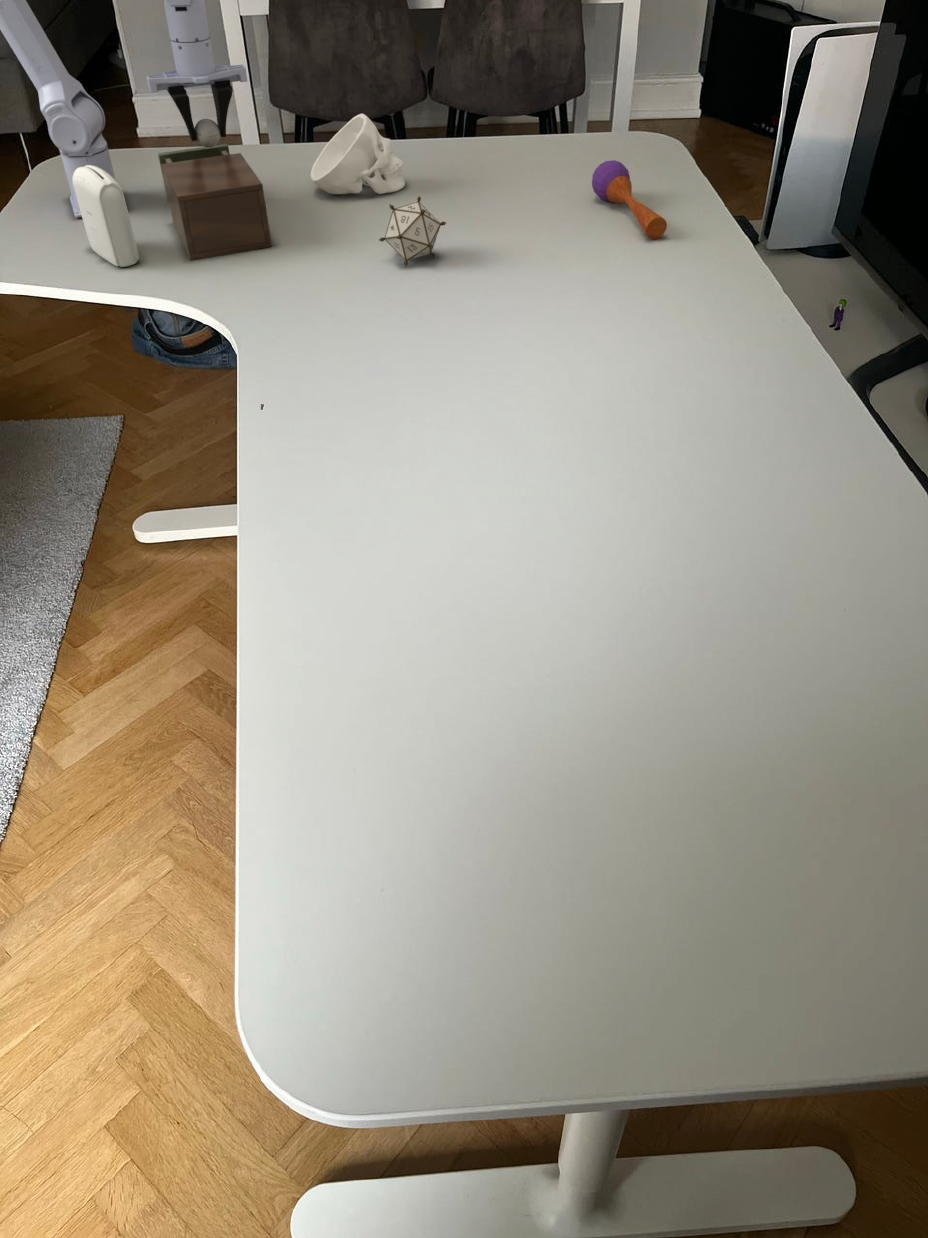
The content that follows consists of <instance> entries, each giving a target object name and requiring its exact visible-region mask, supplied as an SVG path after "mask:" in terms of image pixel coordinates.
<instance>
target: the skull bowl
mask: <svg viewBox="0 0 928 1238" xmlns="http://www.w3.org/2000/svg"><path fill="white" fill-rule="evenodd" d="M391 143H392V139H390V138H387V137H384V136H382V135H381V134H380V132H379V131H378V128H377V127H376V125H375V123H373V121H372V120H371V119H370V118H369V117H368V116H367V115H366V114H364V113H359V114H357V115H355V116H353V117H352V118H351V119H350V120H349V121H347V123H346V124H345V125H344V126H342V127H341V128H340V129H339V130H338V132H336V133H335V134H334V136H332V137H331V139H330V140H329V141H328V142H327V143H326V145H325V146H324V148H323V149H322V150H321V152H320V153H319V155H318V156H317V158H316V159H315V161H314V164H313V165H312V167H311V170H310V174H309V175H310V178H311V180H312V182H313V183H314V185H316V186H317V187H318V188H319V189H320V190H322V191H324V192H326V193H327V194H329V195H347V194H360V193H361V192H362V191H363V185H364V186H367V187H370V188H371V190H373V192H375V193H376V194H378V195H383V194H387V193H395V192H398V191H400V190H402V189H404V188H405V186H406V181H405V179H404V178H403V176H402V171H403V169H402V168H403V167H404V162H403V161H402V159H400V157H397V155H395V153H394V152H393V151H390V148H391V147H390V146H391V145H392V144H391Z"/></svg>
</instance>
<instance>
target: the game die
mask: <svg viewBox="0 0 928 1238" xmlns="http://www.w3.org/2000/svg"><path fill="white" fill-rule="evenodd" d="M416 200H417V201H416V202H412V203H409V204H405V205H402V206H399V207H395V206H394V205H393V204H390V203H389V209H390V210H391V213H390V214H391V215H390V218H389V221H388V224H387V228H386V231H385V235H384V237H383V236H382V237H380V238H379V239H378V241H379V242H384V241H385V242H387V244H388V245H389V246H390V247H391V248H392V249H393V250H394V251H396V253H397V254H398V255H399V256H400V257H401V258H402V259H403V260H404V263H403V265H404V267H405V268H406V267H407V266H408V265H409V262H410V261H411V260H414V259H415V260H416V259H418V258H420V257H424V256H428V255H430V257H432V258H435V253H434V252H433V250H434V246H435V243H436V240H437V237H438V234H439V231H440V229H441V226H445V225H446V224H447V221H445V220H444V221H441V222H440V221H439V220H438V219H437V218H436V217H435V215H433V214H432V213H431V212H430V211H429V210H428V209H427V208H426V207H425V206H424V205H423V204H422V203H421V201H422V197H421V195H419V196H418V197H417V199H416ZM408 261H409V262H408Z"/></svg>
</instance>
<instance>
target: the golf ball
mask: <svg viewBox="0 0 928 1238" xmlns="http://www.w3.org/2000/svg"><path fill="white" fill-rule="evenodd" d="M194 129H195V133H196V139H197V141H196V142H198V144H199V145H201V146H202V147H213V146H215V145H218V144H219V142H220V140H221V138H222V137H221V132H220V129H219V127H218V125H217V122H215V121H214V120H212V119H209V118H202V119H199V120H198V121H197V122H196V123H195V126H194Z"/></svg>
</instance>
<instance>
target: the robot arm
mask: <svg viewBox="0 0 928 1238" xmlns="http://www.w3.org/2000/svg"><path fill="white" fill-rule="evenodd" d="M163 7H164V13H165V18H166V23H167V29H168V34H169V39H170V44H171V49H172V56H173V61H174V66H175V69H174V70H169V71H163V72H160V73H155V74H147V75H146V82H147V87H148V91H149V92H150V93H151V94H155V93H158V92H160V91H167V93H168V95H169V96H170V98H171V99H172V101H173V102H174V104H175V106H176V108H177V110H178V111H179V113H180V116H181V117H182V120H183V122H184V125H185V127H186V129H187V132H188V135H189V139H190V140H191V142H198V141H197V139H196V133H195V129H194V128H195V126H194V122H193V117H192V111H191V110H192V109H191V102H190V97H189V95H188V93H187V90H186V88H194V87H195V88H196V87H204V86H210V90H211V94H212V97H213V103H214V107H215V114H216V124H217V125H218V127H219V129H220V132H221V137H220V138H226V137H227V119H228V112H229V107H230V103H231V100H232V97H233V91H234V90H233V86H232V84H231V83H236V82H240V83H247V82H248V74H247V68H246V66H245V65H244V64H233V65H232V64H231V65H229V64H228V65H215V58H214V52H213V46H212V40H211V32H210V28H209V22H208V21H209V20H208V15H207V10H206V2H205V0H163ZM0 32H1V33H2V35H3V37H4V38H5V39H6V42H7V43H8V44H9V47H10V48H11V49H12V51H13V53H14V55H15V56H16V58H17V60H18V61H19V63H20V64H21V66H22V68H23V69H24V71H25V72H26V74H27V76H28V78H29V79H30V81H31V82H32V84H33V86H34V88H35V89H36V91H37V94H38V101H39V109H40V113H41V114H42V116H43V117H44V119H45V121H46V124H47V130H48V135H49V137H50V140H51V141H52V143H53V144H54V146H55V147H57V148H58V150H59V154H60V158H61V161H62V165H63V168H64V172H65V176H66V179H67V183H68V187H69V190H70V194H71V195H69V200H70V204H71V208H72V210H73V214H74V217H75V218H77V219H78V218H82V215H81V211H80V208H79V204H78V201H77V197H76V193H75V190H74V186H73V181H72V179H73V174H74V172H75V170H76V169H77V168H79V167H84V166H86V165H92V166H96V167H98V168H100V169H102V170H104V171H105V172H107V173H108V174H109V175H110V176H111V177H112V178H113V179H114V180H115V181H116V182H117V179H116V175H115V171H114V166H113V163H112V158H111V154H110V151H109V146H108V143H107V140H106V139H105V138H104V136H103V133H102V132H103V131H104V129H105V126H106V116H105V112H104V109H103V108H102V105H100V103H99V102H98V101H97V100H95V98H93V97H92V96H91V95H90V94H88V92H87V91H86V90H85V88H84V86H83V84H82V83H81V82H80V81H79V80H77V79H76V78H75V77H73V76H72V75H71V74H70V73H69V72H68V70H67V69H66V67H65V65H64V63H63V62H62V60H61V58H60V57H59V55H58V53H57V51H56V49H55V48H54V46H53V45H52V43H51V40H49V38H48V36H47V34H46V33H45V30H44V29H43V28H42V25H41V24H40V22H39V21H38V19H37V17H36V15H35V13H34V12H33V10H32V8H31V7H30V5H29V3H28V2H27V0H0Z"/></svg>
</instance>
